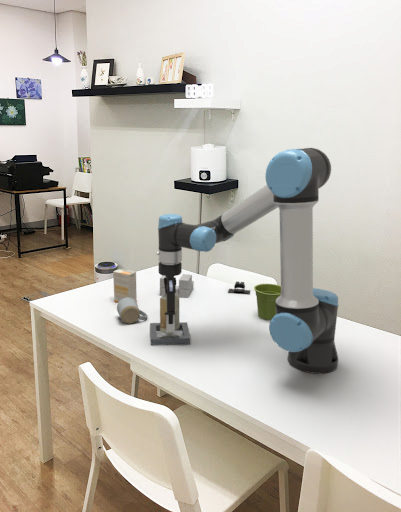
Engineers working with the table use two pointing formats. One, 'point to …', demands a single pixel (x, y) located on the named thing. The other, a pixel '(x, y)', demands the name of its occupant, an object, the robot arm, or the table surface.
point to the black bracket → (239, 291)
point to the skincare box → (164, 310)
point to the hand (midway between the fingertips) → (169, 326)
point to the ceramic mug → (130, 311)
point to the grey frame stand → (170, 339)
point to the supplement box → (124, 284)
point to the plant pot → (267, 299)
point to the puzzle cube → (180, 286)
